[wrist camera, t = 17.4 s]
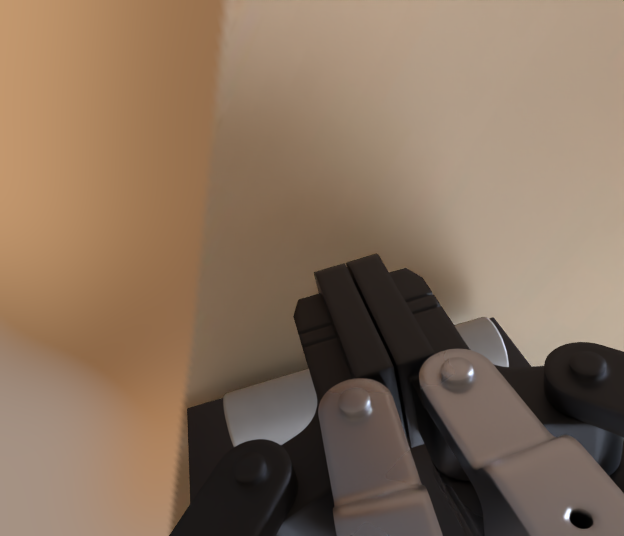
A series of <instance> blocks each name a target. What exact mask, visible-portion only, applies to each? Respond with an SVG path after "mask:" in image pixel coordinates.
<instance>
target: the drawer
mask: <svg viewBox="0 0 624 536" xmlns="http://www.w3.org/2000/svg"><path fill="white" fill-rule="evenodd" d="M454 326H455V328H456V329H457V331H458V332H459V334H460V335H461V337H462V338H463V340H464V341H465V343H466V344H467V346H468V347H469V349H470V350H472V351H475V352H478V353H480V354H482V355H484V356H485V357H486V358H488V359H489V360H490V361H491V362H492V363H493V364H494V365H498V366H503V367H531V365H530V364H529V363H528V362H527V360H526V359H525V358H524V356H523V355H522V354H521V352H520V351H519V350H518V349H517V347H516V346H515V345H514V343H513V342H512V341H511V339H510V338H509V337H508V336H507V334H506V333H505V332H504V330H503V329H502V328H501V326H500V325H499V324H498V322H497V321H496V320H495V319H494V318H487V317H481V318H477V319H474V320H470V321H467V322H464V323H460V324H457V325H454ZM316 408H317V396H316V392H315V388H314V385H313V382H312V378H311V375H310V371H309V369H306V370H302V371H299V372H296V373H292V374H289V375H285V376H282V377H279V378H275V379H272V380H269V381H265V382H262V383H259V384H255V385H252V386H248V387H245V388H242V389H238V390H235V391H232V392H228V393H226V394H225V395H224V397H223V398H221V399H217V400H214V401H211V402H207V403H204V404H201V405H197V406H194V407H191V408H188V409H187V416H188V445H189V475H190V504H191V502H192V501H193V499H194V498H195V497H196V495H197V494H198V492H199V491H200V489H201V488H202V486H203V485H204V483H205V482H206V480H207V479H208V477H209V476H210V474H211V473H212V471H213V470H214V468H215V467H216V465H217V464H218V462H219V461H220V460H221V458H222V457H223V456H224V455H225V454H226V453H227V452H228V451H230V450H231V449H232V448H234V447H235V446H237V445H239V444H241V443H244V442H246V441H250V440H256V439H266V440H271V441H274V442H276V443H278V444H280V445H282V444H284V443H285V442H287V441H289V440H290V439H292V438H293V437H295V436H296V435H298V434H299V433H300V432H301V431H303V430H304V429H305V428H306V427H307V425H308V424H309V423H310V422H311V420H312V418H313V417H314V414H315V412H316ZM406 437H407V436H406ZM407 442H408V445H409V448H410V451H411V454H412V457H413V460H414V463H415V466H416V469H417V472H418V475H419V478H420V481H421V483H422V486H425V487H426V489H427V491H428V494H429V497H430V499H431V502H432V505H433V508H434V511H435V514H436V517H437V520H438V523H439V526H440V529H441V532H442V535H443V536H467V535H466V534H465V532H464V530H463V528H462V526H461V525H460V523H459V521H458V519H457V517H456V516H455V514H454V512H453V510H452V508H451V507H450V505H449V503H448V501H447V499H446V498H445V496H444V494H443V492H442V490H441V489H440V487H439V485H438V483H437V481H436V479H435V477H434V474H433V469H432V462H431V457H430V455H429V453H428V451H427V448H426V446H425V444H422V445H419V446H416V447H413V448H412V447H411V445H410V443H409V440H408V438H407Z"/></svg>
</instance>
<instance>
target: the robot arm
mask: <svg viewBox="0 0 624 536" xmlns="http://www.w3.org/2000/svg"><path fill="white" fill-rule="evenodd" d="M346 266H347V267H346ZM314 276H315V280H316V284H317V288H318V292H319V294H316V295H313V296H309V297H306V298H303V299H299V300H298V303H297V306H296V309H295V313H294V320H295V323H296V327H297V330H298V334H299V337H300V340H301V344H302V347H303V351H304V354H305V358H306V361H307V364H308V368H309V371H310V375H311V378H312V382H313V385H314V388H315V392H316V396H317V408H316V412H315V414H314V417H313V418H312V420H311V422H310V423H309V424H308V425H307V427H306V428H305V429H304V430H303V431H301V432H300V433H299V434H298V435H296V436H295V437H293V438H292V439H290V440H289V441H287V442H285V443H284V444H282V445H280V444H278V443H276V442H274V441H271V440H266V439H256V440H250V441H246V442H244V443H241V444H239V445H237V446H235V447H234V448H232V449H231V450H230V451H228V452H227V453H226V454H225V455H224V456H223V457H222V458H221V460H220V461H219V462H218V464H217V465H216V467H215V468H214V470H213V471H212V473H211V474H210V476H209V477H208V479H207V480H206V482H205V483H204V485H203V486H202V488H201V489H200V491H199V492H198V494H197V495H196V497H195V498H194V499H193V501H192V502H191V504H190V505H189V507H188V508H187V510H186V511H185V513H184V514H183V516H182V517H181V519H180V520H179V522H178V523H177V525H176V526H175V528H174V529H173V531H172V532H171V534H170V535H169V536H443V535H442V532H441V529H440V526H439V523H438V520H437V517H436V514H435V511H434V508H433V505H432V502H431V499H430V497H429V494H428V491H427V489H426V487H425V486H422V483H421V481H420V478H419V475H418V472H417V469H416V466H415V463H414V460H413V457H412V454H411V451H410V448H409V445H408V442H407V438H408V440H409V443H410V445H411V447H412V448H413V447H416V446H419V445H422V444H425V446H426V448H427V451H428V453H429V455H430V457H431V462H432V469H433V474H434V477H435V479H436V481H437V483H438V485H439V487H440V489H441V490H442V492H443V494H444V496H445V498H446V499H447V501H448V503H449V505H450V507H451V508H452V510H453V512H454V514H455V516H456V517H457V519H458V521H459V523H460V525H461V526H462V528H463V530H464V532H465V534H466V535H467V536H624V352H622V351H619V350H616V349H612V348H609V347H606V346H603V345H599V344H595V343H588V342H577V343H570V344H565V345H563V346H560V347H558V348H556V349H555V350H553V351H552V352H551V353H550V354H549V355H548V356H547V358H546V360H545V364H544V366H537V367H503V366H498V365H494V364H493V363H492V362H491V361H490V360H489V359H488V358H486V357H485V356H484V355H482V354H480V353H478V352H475V351H472V350H470V349H469V347H468V346H467V344H466V343H465V341H464V340H463V338H462V337H461V335H460V334H459V332H458V331H457V329H456V328H455V326H454V325H453V323H452V321H451V320H450V318H449V317H448V315H447V314H446V312H445V311H444V309H443V308H442V306H440V304H439V302H438V300H437V299H436V297H435V296H434V295H433V294H432V291H431V290H430V288H429V287H428V285H427V284H426V282H425V281H424V279H423V278H422V277H421V276H419V275H417V274H415V273H414V272H412V271H410V270H409V269H407V268H403V269H400V270H397V271H393V272H390V273H389V272H388V270H387V269H386V267H385V265H384V264H383V262H382V260H381V258H380V257H379V255H378V254H374V255H370V256H367V257H363V258H360V259H357V260H353V261H350V262H347V263H346V265H345V264H340V265H337V266H333V267H330V268H327V269H323V270H320V271H316V272H314ZM406 436H407V437H406Z"/></svg>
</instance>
